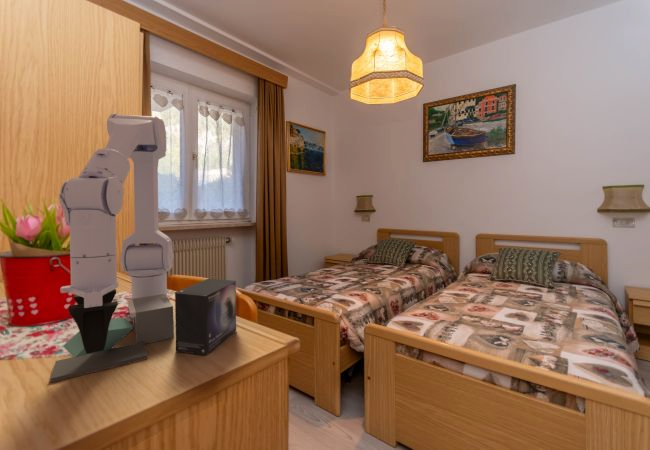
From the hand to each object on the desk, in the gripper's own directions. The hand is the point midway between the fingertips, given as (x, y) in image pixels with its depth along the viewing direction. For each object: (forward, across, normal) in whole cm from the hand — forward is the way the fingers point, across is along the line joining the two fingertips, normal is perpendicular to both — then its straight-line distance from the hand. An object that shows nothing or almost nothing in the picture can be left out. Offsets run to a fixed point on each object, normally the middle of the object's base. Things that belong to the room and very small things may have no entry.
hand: (95, 343), depth 48 cm
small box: (+4, 0, +17) cm, 17 cm away
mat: (+4, -2, +1) cm, 4 cm away
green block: (+1, -2, -1) cm, 3 cm away
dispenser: (+3, -10, +9) cm, 13 cm away
